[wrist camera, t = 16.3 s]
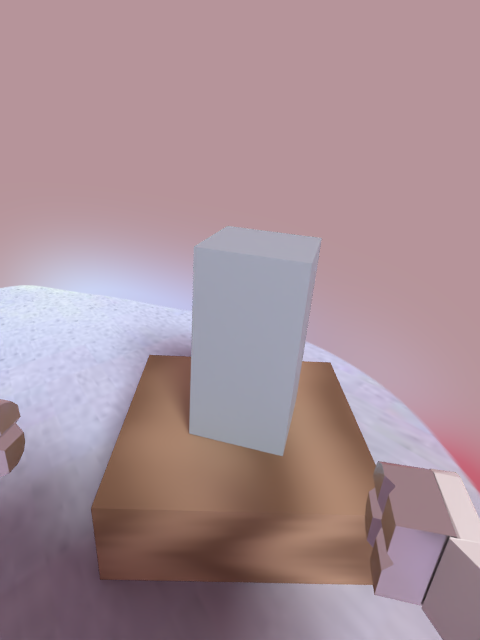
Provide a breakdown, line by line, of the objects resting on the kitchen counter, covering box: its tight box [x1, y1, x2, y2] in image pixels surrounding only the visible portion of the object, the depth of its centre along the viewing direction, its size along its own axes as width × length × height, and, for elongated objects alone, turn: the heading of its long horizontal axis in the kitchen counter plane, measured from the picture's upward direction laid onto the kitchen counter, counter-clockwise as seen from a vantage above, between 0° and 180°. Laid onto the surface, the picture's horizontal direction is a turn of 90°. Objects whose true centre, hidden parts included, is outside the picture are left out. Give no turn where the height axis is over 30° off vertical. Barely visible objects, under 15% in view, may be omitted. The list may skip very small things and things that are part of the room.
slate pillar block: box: [189, 226, 321, 456], centre depth 21 cm, size 5×5×10 cm
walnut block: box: [91, 355, 376, 585], centre depth 24 cm, size 13×13×5 cm
